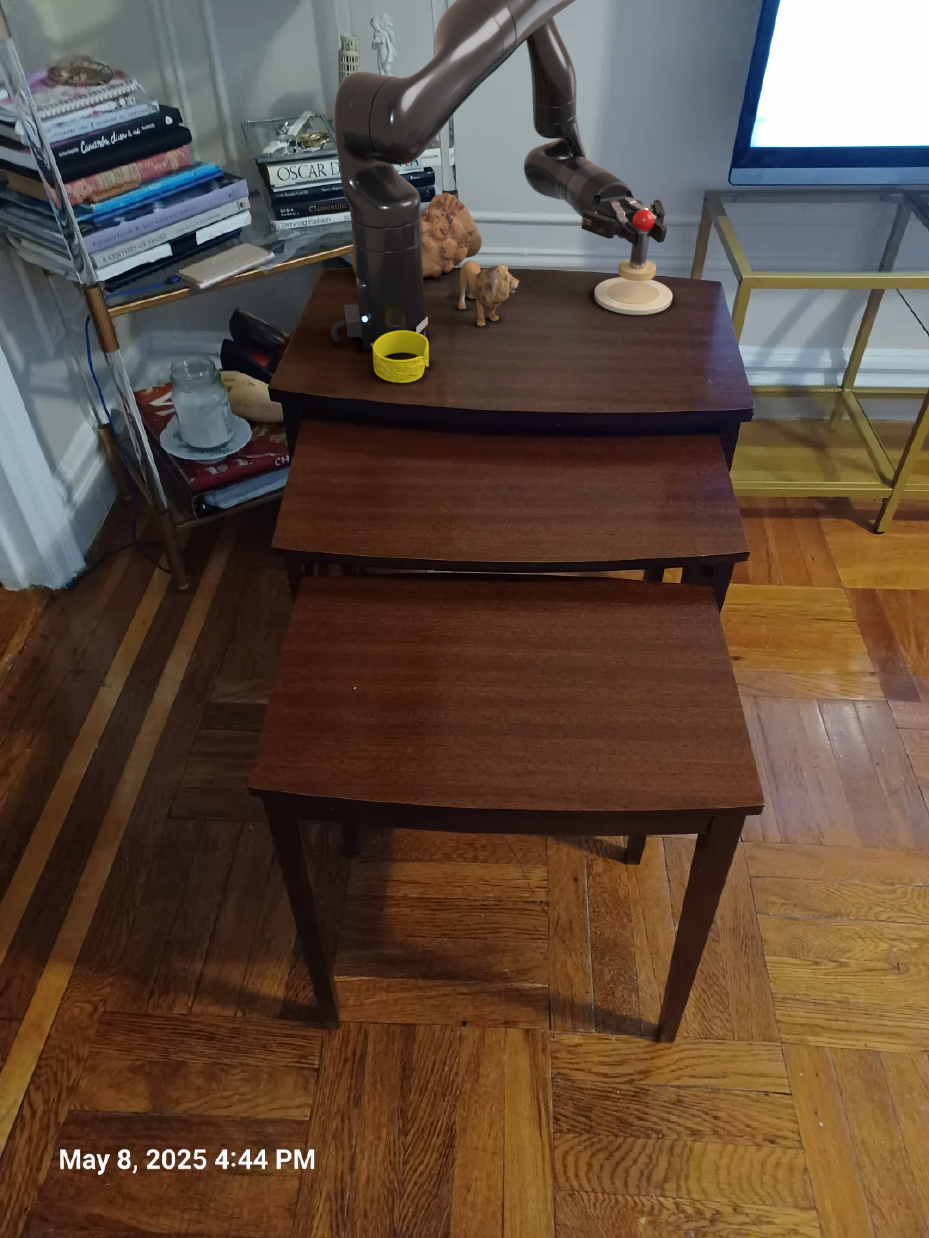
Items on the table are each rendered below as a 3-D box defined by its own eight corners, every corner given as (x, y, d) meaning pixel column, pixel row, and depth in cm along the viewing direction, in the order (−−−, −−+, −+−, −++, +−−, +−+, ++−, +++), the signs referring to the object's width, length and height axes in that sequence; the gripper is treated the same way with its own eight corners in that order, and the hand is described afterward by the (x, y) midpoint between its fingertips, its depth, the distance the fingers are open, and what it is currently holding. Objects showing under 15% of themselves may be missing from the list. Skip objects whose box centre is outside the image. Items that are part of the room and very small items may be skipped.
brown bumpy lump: (464, 317, 144) (492, 237, 147) (458, 279, 134) (488, 195, 136) (356, 289, 147) (386, 211, 149) (343, 250, 136) (375, 167, 139)
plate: (605, 317, 132) (605, 312, 132) (585, 284, 141) (586, 278, 140) (682, 312, 134) (683, 306, 133) (658, 279, 142) (659, 273, 142)
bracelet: (365, 377, 119) (364, 355, 117) (386, 347, 125) (385, 326, 122) (416, 387, 118) (416, 365, 116) (435, 356, 123) (435, 335, 121)
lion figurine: (521, 327, 130) (524, 266, 124) (491, 336, 128) (493, 275, 122) (466, 291, 139) (466, 233, 133) (437, 299, 137) (436, 241, 131)
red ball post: (642, 284, 132) (651, 220, 125) (610, 275, 135) (617, 211, 128) (661, 272, 135) (671, 208, 128) (630, 262, 138) (638, 200, 131)
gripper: (559, 177, 135) (611, 217, 124) (641, 166, 139) (698, 204, 127) (556, 227, 141) (605, 270, 129) (634, 215, 144) (689, 256, 133)
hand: (651, 237), depth 128 cm, fingers closed on red ball post, 3 cm apart
